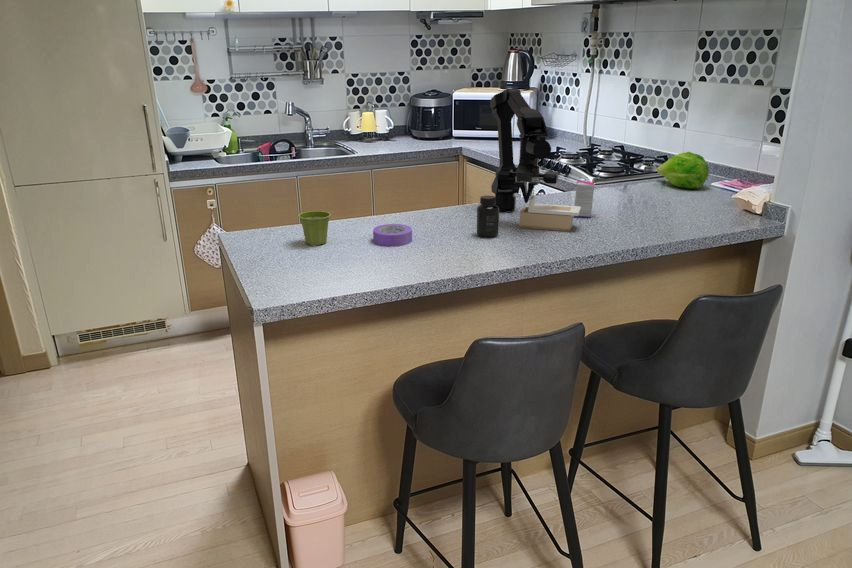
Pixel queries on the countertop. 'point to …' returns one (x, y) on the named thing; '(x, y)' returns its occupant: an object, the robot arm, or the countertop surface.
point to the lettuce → (685, 170)
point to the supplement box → (584, 198)
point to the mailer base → (545, 221)
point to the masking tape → (392, 235)
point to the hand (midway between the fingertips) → (526, 202)
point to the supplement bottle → (487, 217)
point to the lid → (552, 208)
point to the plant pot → (315, 226)
